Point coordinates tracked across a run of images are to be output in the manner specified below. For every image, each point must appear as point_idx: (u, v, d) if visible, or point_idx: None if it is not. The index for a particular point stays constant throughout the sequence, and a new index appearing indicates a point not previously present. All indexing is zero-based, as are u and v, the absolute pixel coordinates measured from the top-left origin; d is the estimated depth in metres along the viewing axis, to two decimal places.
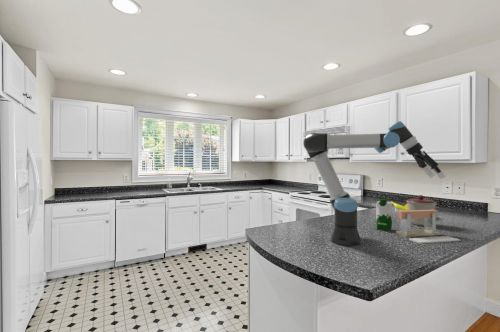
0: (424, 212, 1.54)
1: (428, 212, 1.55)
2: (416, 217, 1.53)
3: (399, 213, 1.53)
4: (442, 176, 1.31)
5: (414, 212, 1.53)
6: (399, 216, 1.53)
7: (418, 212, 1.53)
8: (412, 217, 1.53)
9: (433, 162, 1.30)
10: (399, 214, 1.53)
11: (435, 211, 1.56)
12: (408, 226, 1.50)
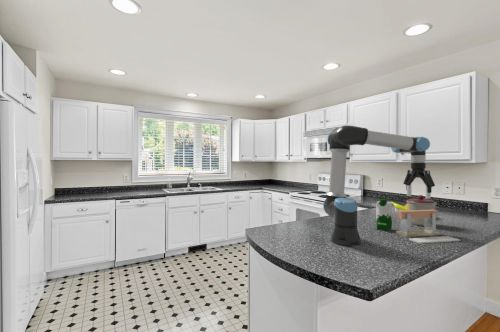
0: (424, 212, 1.54)
1: (428, 212, 1.55)
2: (416, 217, 1.53)
3: (399, 213, 1.53)
4: (428, 197, 1.48)
5: (414, 212, 1.53)
6: (399, 216, 1.53)
7: (418, 212, 1.53)
8: (412, 217, 1.53)
9: (432, 182, 1.46)
10: (399, 214, 1.53)
11: (435, 211, 1.56)
12: (408, 226, 1.50)
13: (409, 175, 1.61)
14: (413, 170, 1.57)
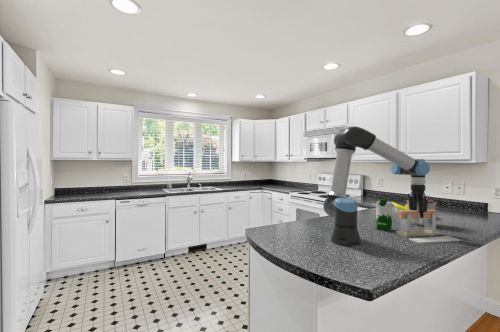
0: (424, 212, 1.54)
1: (428, 212, 1.55)
2: (416, 217, 1.53)
3: (399, 213, 1.53)
4: (420, 222, 1.53)
5: (414, 212, 1.53)
6: (399, 216, 1.53)
7: None
8: (412, 217, 1.53)
9: (425, 208, 1.50)
10: (399, 214, 1.53)
11: (435, 211, 1.56)
12: (408, 226, 1.50)
13: (411, 198, 1.59)
14: (412, 191, 1.58)
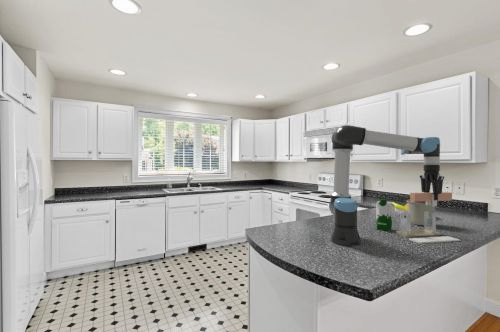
0: (438, 194, 1.44)
1: (442, 194, 1.44)
2: (430, 199, 1.42)
3: (412, 195, 1.41)
4: (434, 204, 1.42)
5: (428, 194, 1.42)
6: (412, 198, 1.41)
7: None
8: (426, 199, 1.42)
9: (440, 190, 1.39)
10: (412, 196, 1.41)
11: (449, 193, 1.45)
12: (408, 226, 1.50)
13: (424, 180, 1.49)
14: (425, 172, 1.47)
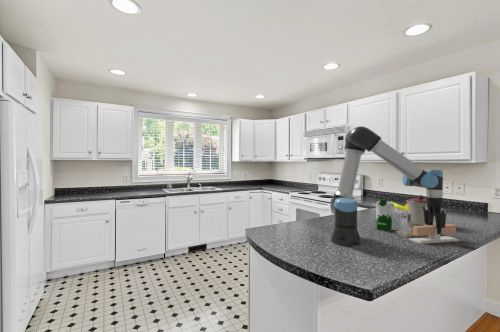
0: None
1: (446, 227, 1.42)
2: (433, 233, 1.40)
3: (414, 229, 1.39)
4: (438, 238, 1.40)
5: (431, 228, 1.40)
6: (414, 232, 1.39)
7: None
8: (429, 233, 1.39)
9: (443, 224, 1.37)
10: (414, 230, 1.39)
11: (453, 226, 1.43)
12: (408, 226, 1.50)
13: (427, 212, 1.46)
14: (428, 204, 1.45)
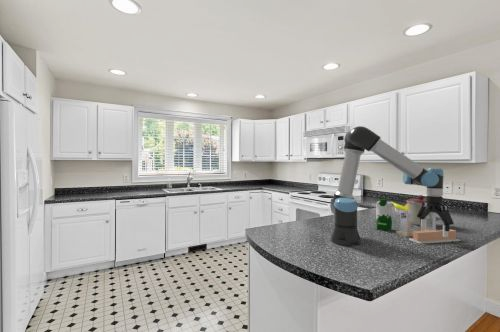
0: (442, 233, 1.41)
1: None
2: (433, 238, 1.40)
3: (415, 234, 1.39)
4: (446, 235, 1.35)
5: (431, 233, 1.40)
6: (415, 237, 1.39)
7: (435, 233, 1.40)
8: (429, 238, 1.39)
9: (450, 220, 1.33)
10: (415, 235, 1.39)
11: (453, 231, 1.43)
12: (408, 226, 1.50)
13: (424, 208, 1.48)
14: (429, 203, 1.44)
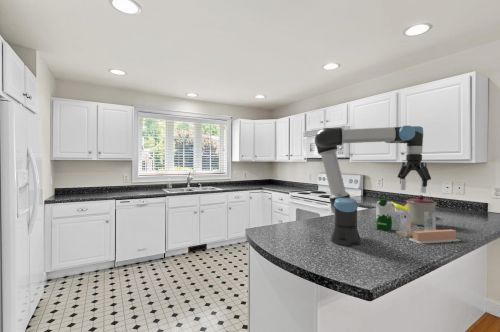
0: (442, 233, 1.41)
1: (446, 233, 1.42)
2: (433, 238, 1.40)
3: (415, 234, 1.39)
4: (423, 191, 1.36)
5: (431, 233, 1.40)
6: (415, 237, 1.39)
7: (435, 233, 1.40)
8: (429, 238, 1.39)
9: (428, 175, 1.34)
10: (415, 235, 1.39)
11: (453, 231, 1.43)
12: (408, 226, 1.50)
13: (404, 168, 1.49)
14: (408, 162, 1.45)
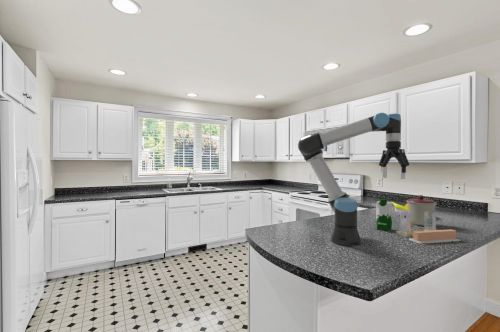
0: (442, 233, 1.41)
1: (446, 233, 1.42)
2: (433, 238, 1.40)
3: (415, 234, 1.39)
4: (402, 177, 1.38)
5: (431, 233, 1.40)
6: (415, 237, 1.39)
7: (435, 233, 1.40)
8: (429, 238, 1.39)
9: (406, 161, 1.35)
10: (415, 235, 1.39)
11: (453, 231, 1.43)
12: (408, 226, 1.50)
13: (384, 156, 1.51)
14: (388, 150, 1.47)
